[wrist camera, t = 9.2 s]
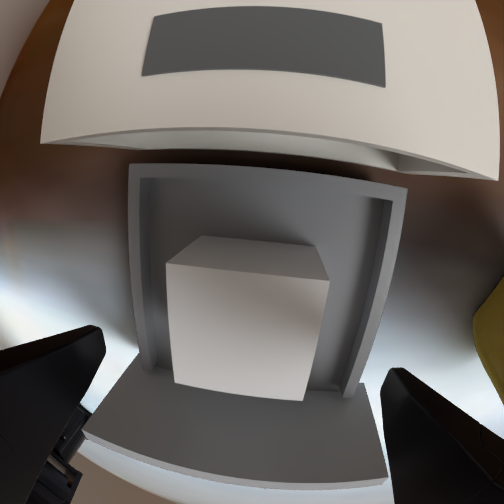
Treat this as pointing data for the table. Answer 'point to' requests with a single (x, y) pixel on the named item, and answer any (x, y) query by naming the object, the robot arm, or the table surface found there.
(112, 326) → the table surface
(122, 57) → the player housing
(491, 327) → the flower pot
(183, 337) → the block
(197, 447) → the grey sliding drawer
